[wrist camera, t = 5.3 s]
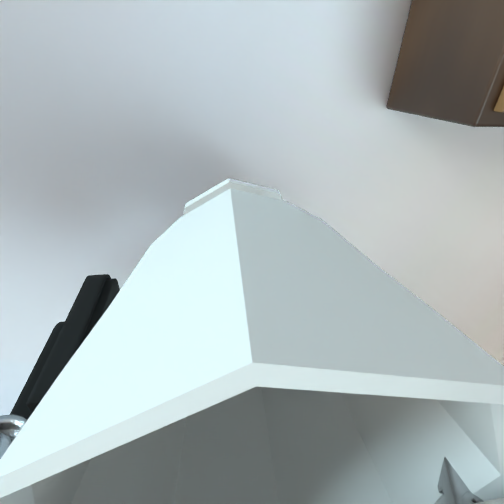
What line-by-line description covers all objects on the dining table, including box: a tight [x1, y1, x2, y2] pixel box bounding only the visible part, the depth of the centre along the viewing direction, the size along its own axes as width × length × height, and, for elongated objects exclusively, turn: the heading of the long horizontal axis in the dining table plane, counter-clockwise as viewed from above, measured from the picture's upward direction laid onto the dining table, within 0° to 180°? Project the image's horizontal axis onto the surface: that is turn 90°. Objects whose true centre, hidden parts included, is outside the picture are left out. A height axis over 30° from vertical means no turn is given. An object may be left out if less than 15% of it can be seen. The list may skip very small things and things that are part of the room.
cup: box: [0, 178, 504, 504], centre depth 8 cm, size 7×10×8 cm
